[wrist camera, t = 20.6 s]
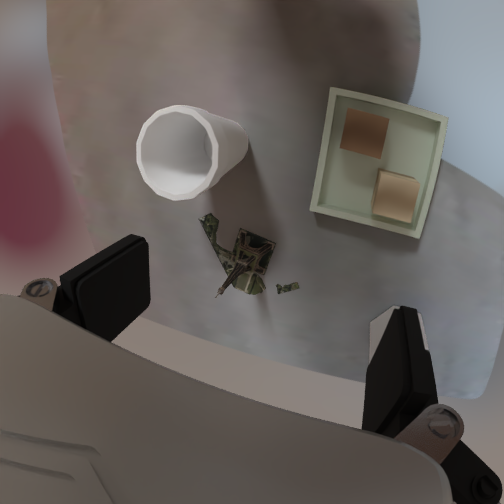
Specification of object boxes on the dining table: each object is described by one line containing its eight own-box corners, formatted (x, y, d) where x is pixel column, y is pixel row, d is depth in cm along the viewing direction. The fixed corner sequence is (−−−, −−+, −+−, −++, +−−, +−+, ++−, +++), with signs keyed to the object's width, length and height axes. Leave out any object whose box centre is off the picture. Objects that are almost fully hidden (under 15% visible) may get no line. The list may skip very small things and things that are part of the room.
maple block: (378, 167, 35) (381, 173, 31) (413, 177, 33) (420, 183, 30) (370, 203, 36) (372, 213, 33) (404, 212, 35) (410, 223, 31)
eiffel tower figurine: (198, 216, 46) (146, 251, 35) (257, 189, 42) (216, 218, 30) (243, 302, 50) (208, 356, 38) (302, 285, 45) (281, 342, 34)
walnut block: (348, 109, 33) (347, 107, 29) (385, 119, 32) (389, 118, 28) (341, 145, 35) (339, 148, 31) (377, 155, 34) (380, 159, 30)
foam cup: (275, 142, 38) (239, 150, 27) (229, 191, 43) (181, 219, 31) (222, 94, 38) (168, 87, 26) (182, 145, 42) (122, 158, 31)
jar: (366, 309, 43) (364, 365, 32) (420, 299, 40) (433, 354, 29) (373, 356, 45) (371, 413, 35) (423, 347, 42) (431, 405, 32)
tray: (331, 89, 33) (330, 86, 31) (442, 117, 30) (448, 117, 28) (312, 205, 40) (309, 210, 38) (415, 232, 37) (419, 239, 34)
